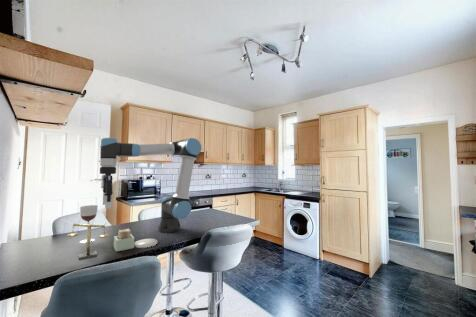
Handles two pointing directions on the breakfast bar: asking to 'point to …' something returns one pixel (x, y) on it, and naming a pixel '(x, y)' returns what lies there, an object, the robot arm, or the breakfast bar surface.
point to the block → (123, 234)
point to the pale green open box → (123, 243)
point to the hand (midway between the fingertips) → (106, 206)
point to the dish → (145, 243)
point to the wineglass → (88, 215)
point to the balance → (88, 240)
